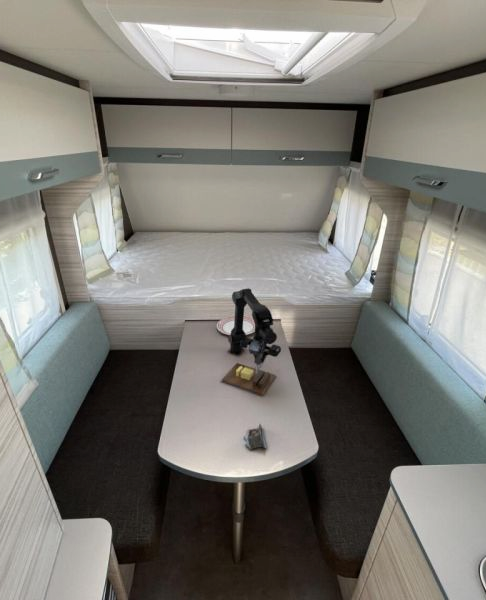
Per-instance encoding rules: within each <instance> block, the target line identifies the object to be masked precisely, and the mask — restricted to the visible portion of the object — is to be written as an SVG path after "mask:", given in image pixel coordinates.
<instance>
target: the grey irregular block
mask: <svg viewBox="0 0 486 600" xmlns="http://www.w3.org/2000/svg"><path fill="white" fill-rule="evenodd" d="M244 438H245V444H246V446H247V447H248V448H249V450H252V449H257V448H261V447H263V449H267V446H266V442H265V437H264V431H263V428H262V424H261V423H259V425H258V427H256V428H253V429H249V430H248V432H246V433H245V436H244Z"/></svg>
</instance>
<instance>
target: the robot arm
mask: <svg viewBox="0 0 486 600" xmlns="http://www.w3.org/2000/svg"><path fill="white" fill-rule="evenodd" d="M231 300H232V302H233V304H234V306H235V307H234V316H235V320H234V328H233V329H232V330H231V334H230V335H228V337H227V341H228V344H229V345H230V346H229V347H230V350H228V353H230V354H234V355H236V356H240V355H241V354H242V352H244V349H247V348H248V350H247V351H248V352H249V355H253V357H254V358H255V357H256V356H258V355H259V354H261V353H262V355H263V357H262V363H263V364H264V362H265V361H266V359H267V356H271V357H274V358H277V357H278V356H279V355H280V353H281V352H282V347H281V346H280V345H277V344H274V343H275V342H276V341H277V338H278V335H277V333H276V332H275V331H274V329H273V328H272V327H271V326H273V325H274V318H273V315H272V312H271V310H270V309H269V308H268V306H266V305H265V304H262V303H260V301H259V300H258V299H257V297H256V296H255V295H254V293H253V292H252V289H251V288H242V289H240V290H237V291H233V292H232V294H231ZM247 305H248V307H249V308H250V310H251V316H252V318H253V320H254V322H255V332H254V335H253V336H252V337H253V338H251V337H247V335H246V334H245V332H244V331H243V318H244V316H245V308H246V306H247Z"/></svg>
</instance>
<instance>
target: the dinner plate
mask: <svg viewBox="0 0 486 600" xmlns="http://www.w3.org/2000/svg"><path fill="white" fill-rule="evenodd" d="M234 320H235V315H230V316H226V317H224V318H222V319H220V320H219V321H217V324H216V329H217V330H218V331H219V332H220V333H222V334H224V335H227V336H230V334H231V330H232V329H233V328H234ZM243 331H244V332H245V334H246V336H247V335H250V334H253V333H255V322H254V320H253V317H251V316H248V315H244V318H243Z"/></svg>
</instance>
